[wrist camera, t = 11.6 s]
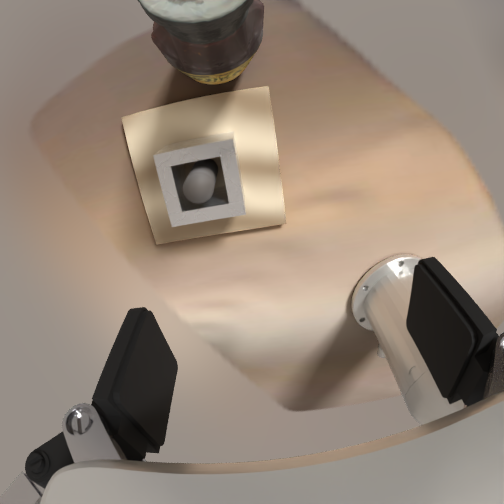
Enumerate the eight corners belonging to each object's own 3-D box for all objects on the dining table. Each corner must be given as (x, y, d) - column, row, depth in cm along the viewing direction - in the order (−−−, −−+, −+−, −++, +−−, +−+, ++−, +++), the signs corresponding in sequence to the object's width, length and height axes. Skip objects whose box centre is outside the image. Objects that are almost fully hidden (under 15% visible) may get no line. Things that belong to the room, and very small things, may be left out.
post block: (285, 219, 32) (296, 253, 26) (158, 240, 32) (142, 276, 26) (267, 86, 25) (276, 84, 19) (125, 116, 25) (94, 125, 19)
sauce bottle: (194, 93, 25) (110, 97, 8) (175, 37, 22) (72, -38, 5) (261, 73, 24) (313, 33, 7) (242, 16, 21) (254, -102, 4)
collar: (244, 194, 29) (246, 214, 25) (181, 205, 29) (171, 227, 25) (233, 131, 26) (233, 139, 22) (166, 144, 26) (153, 155, 22)
